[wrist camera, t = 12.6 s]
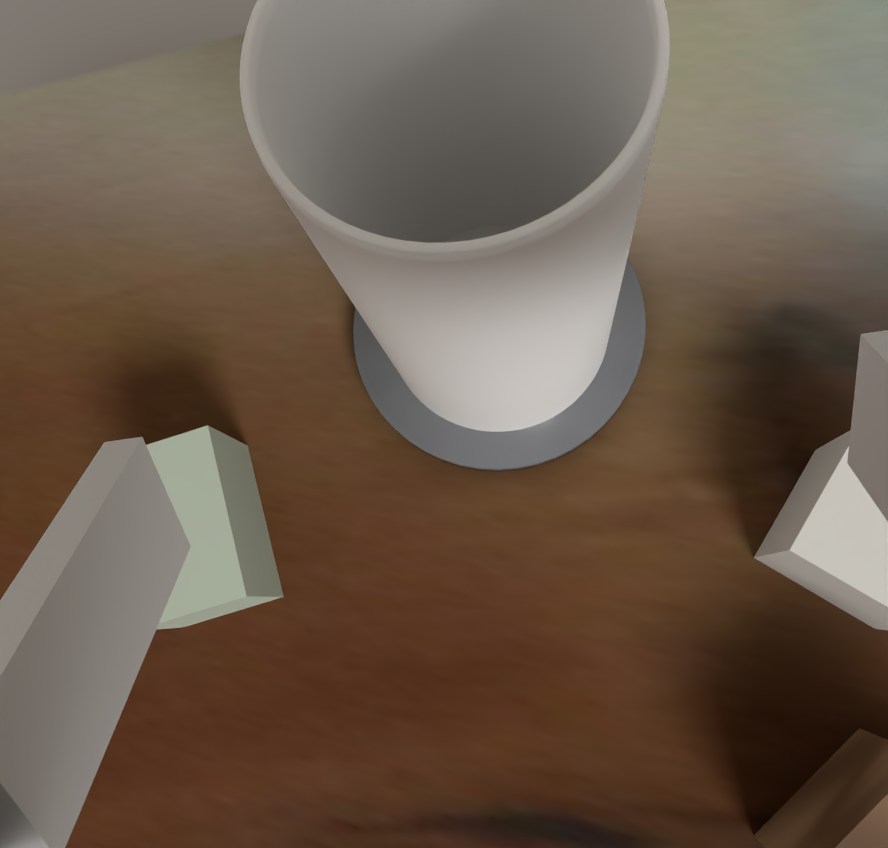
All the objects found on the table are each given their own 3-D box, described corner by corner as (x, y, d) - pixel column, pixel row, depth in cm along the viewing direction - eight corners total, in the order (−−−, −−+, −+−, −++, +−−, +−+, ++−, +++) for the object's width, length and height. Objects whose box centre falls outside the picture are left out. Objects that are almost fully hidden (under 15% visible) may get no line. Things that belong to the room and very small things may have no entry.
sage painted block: (248, 446, 32) (207, 425, 28) (284, 596, 31) (246, 596, 27) (153, 476, 33) (99, 460, 29) (184, 627, 31) (132, 631, 27)
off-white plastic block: (814, 450, 30) (860, 424, 25) (935, 516, 29) (1005, 501, 24) (753, 557, 29) (789, 550, 25) (874, 628, 28) (934, 634, 24)
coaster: (569, 155, 33) (570, 144, 32) (694, 400, 30) (697, 394, 30) (318, 266, 33) (313, 258, 33) (420, 517, 31) (416, 515, 30)
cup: (546, 471, 30) (544, 329, 14) (352, 372, 31) (158, 149, 16) (647, 276, 31) (748, -55, 15) (453, 191, 32) (366, -186, 17)
